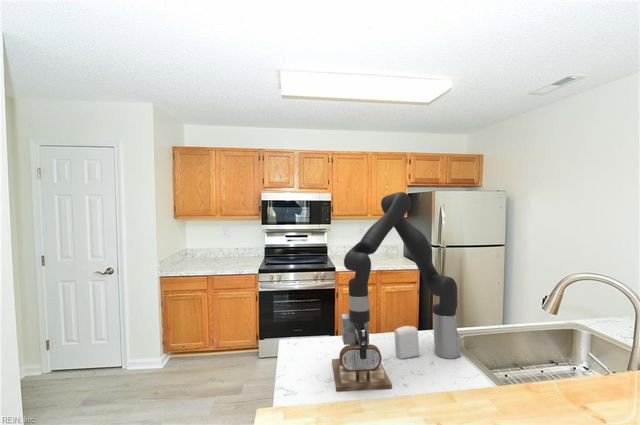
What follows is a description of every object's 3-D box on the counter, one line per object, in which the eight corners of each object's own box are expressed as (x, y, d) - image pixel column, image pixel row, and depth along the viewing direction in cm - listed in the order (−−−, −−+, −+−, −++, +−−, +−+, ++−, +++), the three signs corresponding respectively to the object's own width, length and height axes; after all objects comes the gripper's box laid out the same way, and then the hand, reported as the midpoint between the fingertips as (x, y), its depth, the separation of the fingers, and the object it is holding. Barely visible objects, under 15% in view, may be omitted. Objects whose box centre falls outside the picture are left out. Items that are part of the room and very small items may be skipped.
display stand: (377, 360, 113) (375, 312, 114) (392, 388, 93) (389, 330, 94) (332, 362, 112) (330, 314, 113) (336, 391, 92) (334, 332, 93)
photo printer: (399, 360, 113) (397, 329, 113) (394, 355, 117) (392, 326, 118) (421, 356, 115) (419, 326, 116) (415, 352, 119) (413, 323, 120)
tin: (380, 366, 99) (379, 342, 99) (383, 371, 96) (381, 346, 96) (339, 368, 98) (338, 344, 99) (340, 373, 95) (339, 348, 96)
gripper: (373, 313, 92) (376, 362, 91) (365, 301, 106) (367, 344, 105) (351, 314, 92) (353, 363, 91) (346, 302, 106) (347, 345, 105)
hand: (361, 353), depth 98 cm, fingers open, 8 cm apart
